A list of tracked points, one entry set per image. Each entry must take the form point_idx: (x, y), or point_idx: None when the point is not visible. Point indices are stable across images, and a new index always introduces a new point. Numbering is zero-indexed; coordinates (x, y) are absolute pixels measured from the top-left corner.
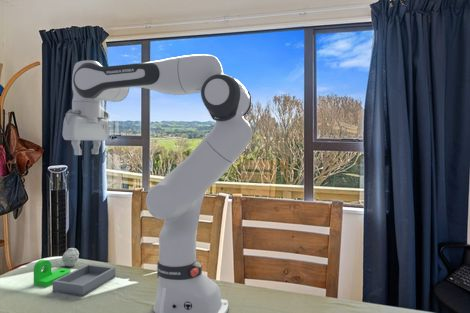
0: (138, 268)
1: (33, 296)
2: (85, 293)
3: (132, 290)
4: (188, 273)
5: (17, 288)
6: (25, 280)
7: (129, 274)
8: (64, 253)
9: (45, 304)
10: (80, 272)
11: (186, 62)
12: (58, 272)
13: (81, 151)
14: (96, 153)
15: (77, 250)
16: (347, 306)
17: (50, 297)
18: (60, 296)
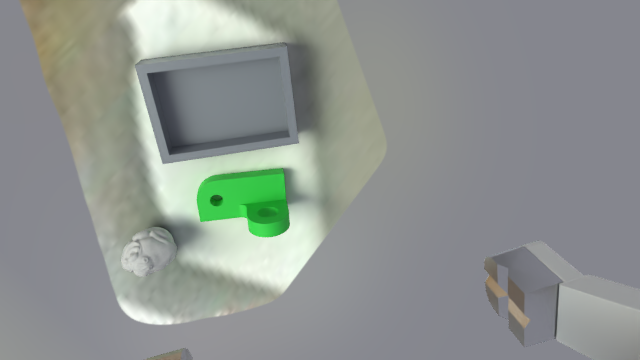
0: (38, 41)
1: (329, 150)
2: (274, 44)
3: None
4: None
5: (314, 216)
6: (277, 241)
7: (98, 32)
8: (164, 265)
9: (348, 90)
10: (204, 146)
11: None
12: (227, 202)
13: (520, 272)
14: (173, 353)
15: (122, 258)
16: None
17: (318, 112)
18: (305, 95)
